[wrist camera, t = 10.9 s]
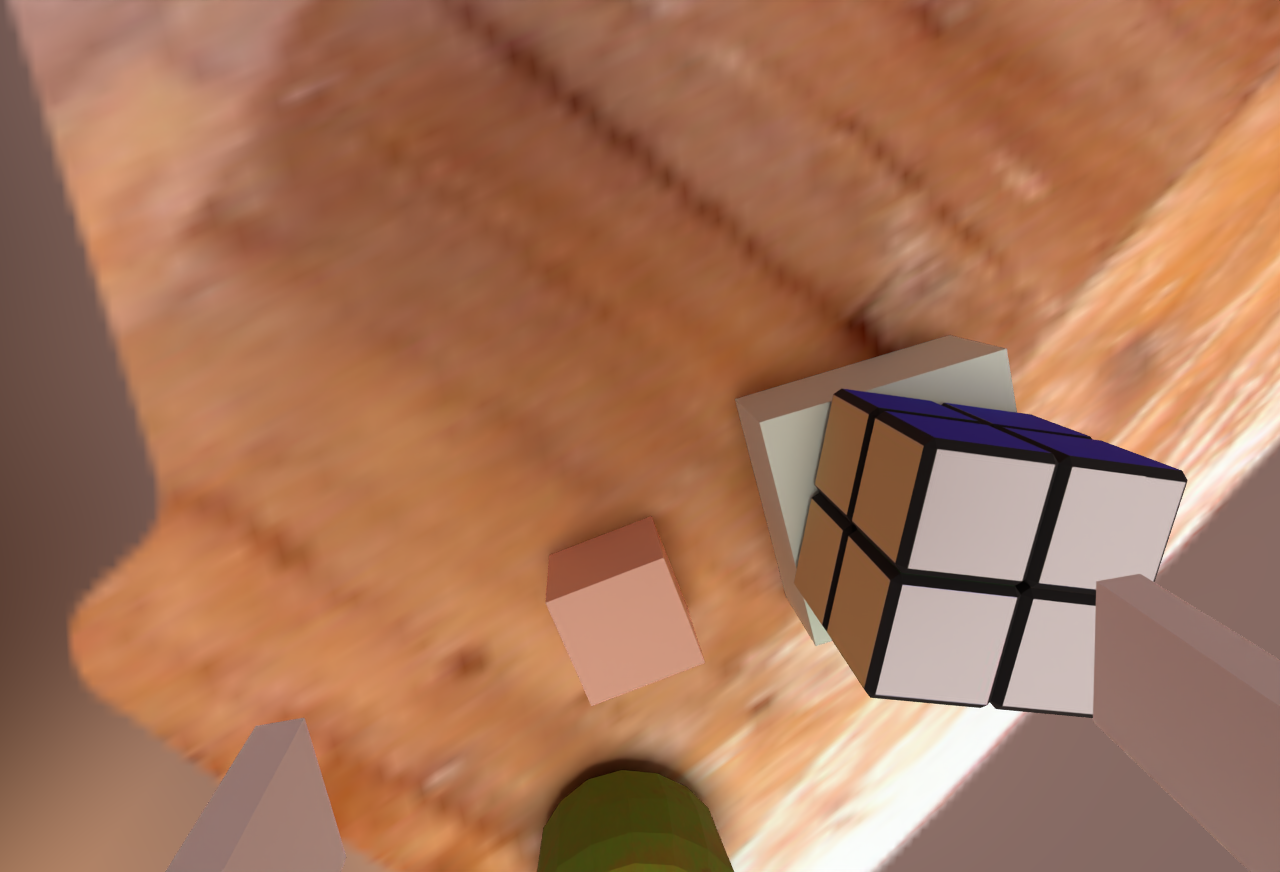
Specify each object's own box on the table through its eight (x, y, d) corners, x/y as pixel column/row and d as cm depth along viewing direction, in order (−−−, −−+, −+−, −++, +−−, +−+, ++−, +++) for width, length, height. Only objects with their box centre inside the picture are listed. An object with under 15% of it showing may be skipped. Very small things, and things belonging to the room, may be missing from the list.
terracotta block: (549, 554, 43) (545, 602, 37) (651, 515, 43) (663, 557, 37) (589, 646, 44) (591, 706, 38) (687, 608, 44) (705, 662, 38)
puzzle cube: (1033, 413, 37) (1197, 473, 27) (981, 606, 39) (1115, 724, 30) (832, 385, 36) (929, 438, 26) (790, 586, 38) (865, 702, 28)
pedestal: (733, 398, 42) (759, 422, 36) (946, 334, 42) (1006, 348, 36) (784, 593, 45) (815, 645, 39) (982, 533, 45) (1043, 576, 39)
